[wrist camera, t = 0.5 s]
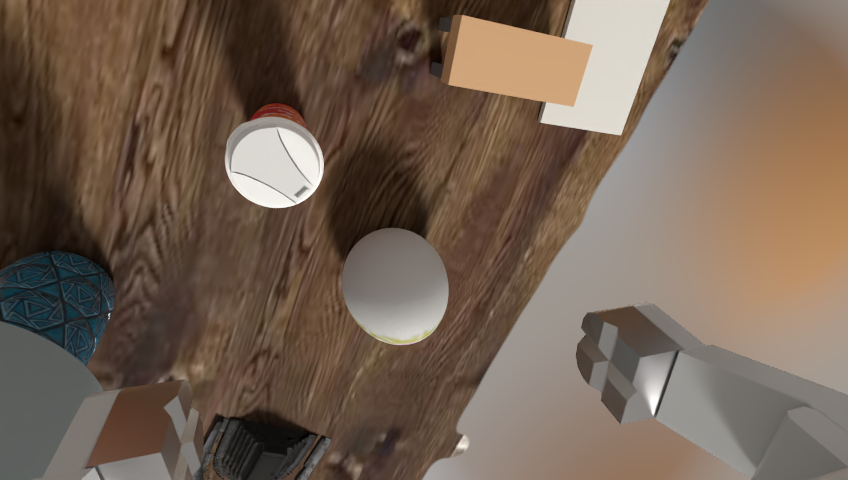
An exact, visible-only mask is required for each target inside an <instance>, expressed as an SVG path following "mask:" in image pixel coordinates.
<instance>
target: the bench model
mask: <svg viewBox="0 0 848 480" xmlns="http://www.w3.org/2000/svg"><path fill="white" fill-rule="evenodd" d="M438 30H440V31H445V32H450V35H449V40H448V46H447V51H446V56H445V61H444V64H440V63H435V62H432V65H431V70H430V74H432V75H435V76H437V77H439V78H441V82H443V83H445V84H448V85H452V86H458V87H464V88H469V89H475V90H481V91H486V92H492V93H498V94H503V95H509V96H515V97H520V98H526V99H532V100H537V101H543V102H549V103H554V104H560V105H566V106H571V107H574V104H575V101H576V98H577V95H578V92H579V88H580V85H581V82H582V79H583V76H584V72H585V69H586V66H587V63H588V60H589V56H590V53H591V50H592V47H593V45H590V44H586V43H582V42H577V41H573V40H569V39H564V38H560V37H556V36H551V35H547V34H543V33H538V32H534V31H530V30H525V29H521V28H517V27H512V26H508V25H504V24H499V23H495V22H491V21H486V20H482V19H478V18H473V17H469V16H465V15H453V18H440V21H439V26H438Z"/></svg>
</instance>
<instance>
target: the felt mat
mask: <svg viewBox="0 0 848 480" xmlns="http://www.w3.org/2000/svg"><path fill="white" fill-rule="evenodd" d="M669 1H670V0H572V1H571V5H570V8H569V12H568V15H567V19H566V22H565V26H564V29H563V33H562V36H561V38H564V39H569V40H573V41H577V42H582V43H586V44H590V45H593V47H592V50H591V53H590V56H589V60H588V63H587V66H586V69H585V72H584V76H583V79H582V82H581V85H580V88H579V92H578V95H577V98H576V101H575V104H574V107H571V106H566V105H560V104H554V103H549V102H543V103H542V107H541V110H540V114H539V117H538V122H540V123H546V124H553V125H559V126H565V127H572V128H578V129H584V130H590V131H597V132H603V133H609V134H616V135H621V134H622V131H623V128H624V125H625V123H626V120H627V117H628V114H629V112H630V109H631V106H632V103H633V101H634V98H635V95H636V92H637V90H638V87H639V84H640V81H641V79H642V76H643V73H644V70H645V68H646V65H647V62H648V59H649V57H650V54H651V51H652V48H653V46H654V43H655V40H656V37H657V34H658V32H659V29H660V26H661V23H662V21H663V18H664V15H665V12H666V10H667V7H668V4H669Z"/></svg>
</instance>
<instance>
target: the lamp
mask: <svg viewBox="0 0 848 480" xmlns="http://www.w3.org/2000/svg"><path fill="white" fill-rule="evenodd" d="M114 305H115V288H114V285H113V283H112V280H111V278H110V277H109V275H108V274H107V273H106V271H105V270H104V269H103V268H102V267H100V266H99V265H98V264H97V263H95V262H94V261H92V260H90V259H88V258H86V257H84V256H81V255H78V254H75V253H71V252H65V251H45V252H38V253H34V254H31V255H28V256H26V257H23V258H21V259H19V260H17V261H15V262H13V263H12V264H10V265H8V266H7V267H5V268H4V269H2V270H1V271H0V480H33V479H38V478H42V477H43V475H44V473H45V471H46V470H47V468H48V466H49V464H50V462H51V460H52V458H53V456H54V454H55V453H56V451H57V449H58V447H59V445H60V443H61V441H62V439H63V438H64V436H65V434H66V432H67V430H68V428H69V426H70V424H71V423H72V421H73V419H74V417H75V415H76V413H77V411H78V409H79V408H80V406H81V404H82V402H83V400H84V399H85V398H86V397H88V396H89V395H90V394H92V393H98V392H104V391H103V389H102V387H101V385H100V384H99V382H98V381H97V379H96V378H95V377H94V375H93V374H92V373H91V372H90V371H89V370H88V369H87V368H86V366H87V364H88V362H89V360H90V358H91V356H92V355H93V353H94V351H95V349H96V347H97V345H98V343H99V341H100V339H101V337H102V335H103V333H104V331H105V329H106V327H107V325H108V323H109V321H110V318H111V315H112V312H113V309H114Z"/></svg>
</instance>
